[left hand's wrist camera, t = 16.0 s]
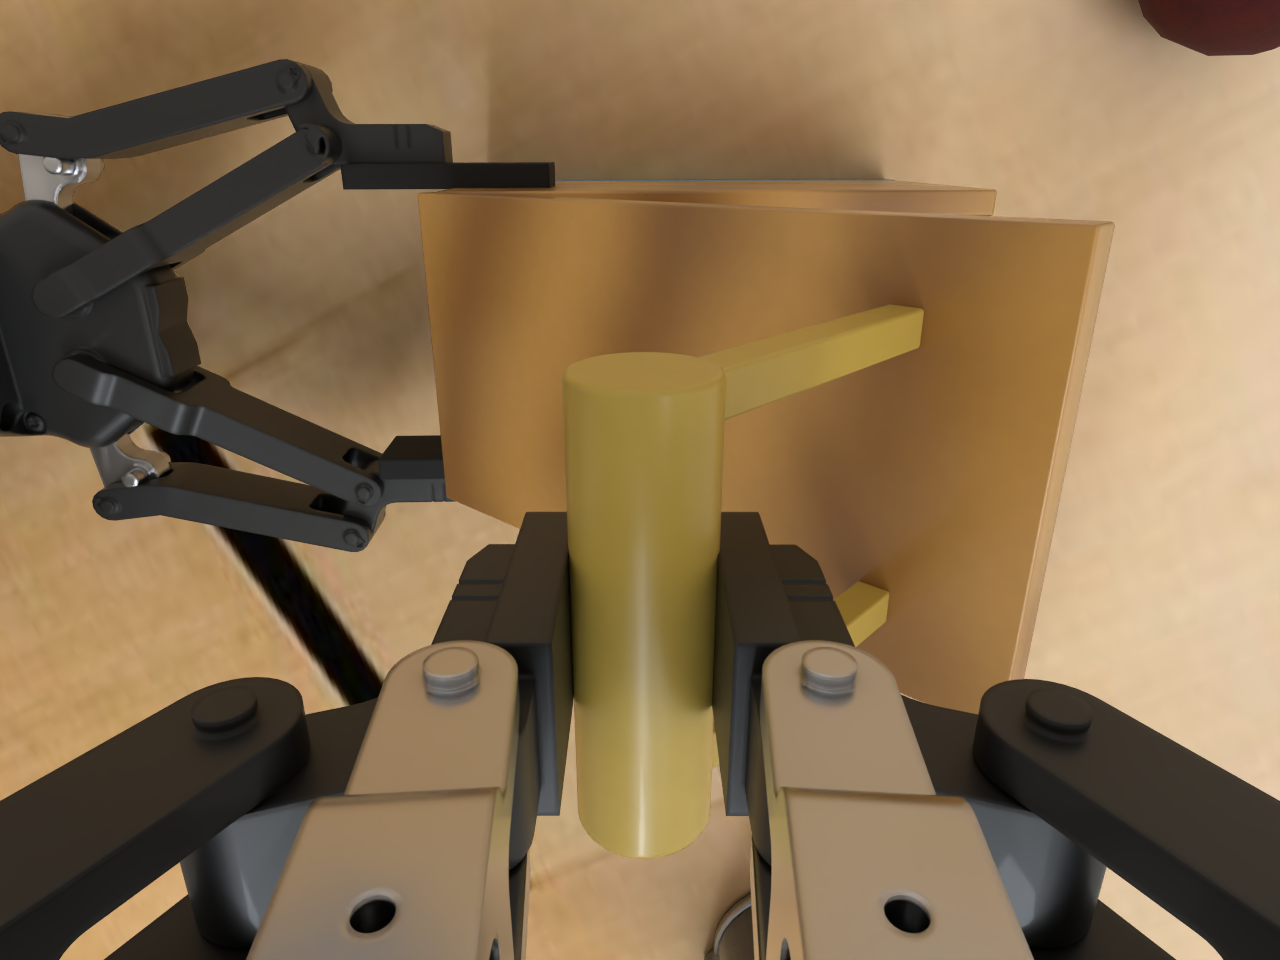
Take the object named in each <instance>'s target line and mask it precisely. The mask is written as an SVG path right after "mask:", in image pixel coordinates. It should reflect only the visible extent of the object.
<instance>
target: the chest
mask: <svg viewBox="0 0 1280 960" xmlns="http://www.w3.org/2000/svg"><path fill="white" fill-rule="evenodd" d="M438 192H454V193H477V194H500V195H522V196H545V197H567V198H590V199H612V200H635V201H657V202H680V203H702V204H725V205H747V206H770V207H792V208H815V209H837V210H860V211H882V212H905V213H928V214H950V215H973V216H991V215H993V213H994V206H995V199H996V190H992V189H981V188H970V187H959V186H948V185H937V184H926V183H915V182H904V181H895V180H887V179H839V180H555V185H554V186H552V187H551V188H452V189H447V190H442V191H438Z"/></svg>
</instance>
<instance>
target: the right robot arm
mask: <svg viewBox="0 0 1280 960" xmlns="http://www.w3.org/2000/svg"><path fill="white" fill-rule="evenodd" d="M284 116H289V118H290V120H291V122H292V124H293V126H294V128H295V130H296V133H294V134H292V135H291V136H289V137H287V138H286V139H284V140H282V141H281V142H279V143H277V144H276V145H274V146H272V147H271V148H269V149H267V150H266V151H264V152H262V153H261V154H259V155H257V156H256V157H254V158H253V159H251V160H249V161H248V162H246V163H244V164H243V165H241V166H239V167H238V168H236V169H234V170H233V171H231V172H229V173H228V174H226V175H224V176H223V177H221V178H219V179H218V180H216V181H214V182H213V183H211V184H209V185H208V186H206V187H204V188H203V189H201V190H200V191H198V192H196V193H195V194H193V195H191V196H190V197H188V198H186V199H185V200H183V201H181V202H180V203H178V204H176V205H175V206H173V207H171V208H170V209H168V210H166V211H165V212H163V213H161V214H160V215H158V216H156V217H155V218H153V219H151V220H150V221H148V222H146V223H144V224H141V225H138V226H136V227H133V228H131V229H129V230H127V231H125V232H124V233H122V232H121V231H119V230H118V229H116V228H114V227H113V226H111V225H110V224H108V223H106V222H105V221H103V220H102V219H100V218H99V217H97V216H95V215H94V214H92V213H91V212H89V211H87V210H86V209H84V208H83V207H81V206H79V205H78V204H76V203H74V202H73V195H74V192H75V190H76V189H77V188H78V187H79V186H80V185H82V184H86V183H92V182H94V181H96V180H98V178H99V177H100V176H101V173H102V171H103V170H104V167H105V164H104V161H103V159H118V158H130V157H135V156H140V155H144V154H148V153H152V152H155V151H159V150H163V149H166V148H170V147H174V146H177V145H181V144H185V143H188V142H192V141H196V140H199V139H203V138H207V137H211V136H214V135H218V134H222V133H225V132H229V131H233V130H236V129H240V128H244V127H247V126H251V125H255V124H258V123H262V122H266V121H269V120H273V119H277V118H280V117H284ZM0 145H1V146H2V147H4V148H5V149H6V150H8V151H9V152H13V153H16V154H18V156H19V162H20V169H21V175H22V182H23V189H24V195H25V201H23V202H21V203H19V204H17V205H15V206H14V207H12V208H11V209H10V210H8V211H7V212H4V213H2V214H0V436H35V435H52V436H57V437H60V438H64V439H66V440H69V441H71V442H73V443H75V444H78V445H80V446H83V447H88V448H90V450H91V453H92V455H93V458H94V461H95V463H96V466H97V468H98V471H99V474H100V476H101V479H102V481H103V484H104V487H105V488H103V489H102V490H100V491H99V492H98V493H97V494H96V495H95V496H94V498H93V501H92V502H93V508H94V509H95V511H96V512H97V513H98V514H99V515H100V516H101V517H103V518H105V519H108V520H123V519H131V518H140V517H148V516H157V515H163V516H168V517H173V518H178V519H184V520H189V521H194V522H199V523H204V524H210V525H215V526H220V527H225V528H230V529H236V530H241V531H246V532H251V533H256V534H261V535H267V536H272V537H277V538H282V539H287V540H293V541H298V542H303V543H308V544H313V545H318V546H324V547H329V548H334V549H339V550H344V551H350V552H358V551H361V550H363V549H364V548H365V547H367V545H368V544H369V542H370V540H371V539H372V537H373V536H374V534H375V532H376V531H377V529H378V528H379V526H380V524H381V523H382V521H383V520H384V517H385V508H386V505H387V504H390V503H395V502H432V501H434V502H443V501H445V502H452V501H454V500H452V499H450V498H447V495H446V485H445V474H444V464H443V453H442V443H441V436H396V437H395V438H394V440H393V441H392V442H391V444H390V445H389V446H388V448H387V449H386V450H385V452H384V453H383V454H381V453H379V452H377V451H375V450H372V449H370V448H368V447H366V446H363V445H361V444H359V443H357V442H354V441H352V440H350V439H348V438H345V437H343V436H341V435H338V434H336V433H334V432H332V431H329V430H327V429H325V428H323V427H320V426H318V425H316V424H314V423H311V422H309V421H307V420H305V419H302V418H300V417H298V416H296V415H293V414H291V413H289V412H286V411H284V410H282V409H280V408H277V407H275V406H273V405H271V404H268V403H266V402H264V401H262V400H259V399H257V398H255V397H253V396H250V395H248V394H246V393H244V392H241V391H239V390H237V389H235V388H233V387H232V386H231V385H230V383H229V381H228V380H226V379H225V378H223V377H221V376H219V375H216V374H214V373H212V372H210V371H207V370H205V369H203V368H201V367H198V366H197V365H199V364H201V361H200V356H199V351H198V346H197V342H196V340H195V338H194V336H193V334H192V332H191V330H190V328H189V325H188V323H187V307H188V297H187V292H186V287H185V282H184V278H177V277H176V275H175V273H174V272H173V270H174V269H176V268H177V267H179V266H181V265H182V264H184V263H186V262H187V261H189V260H191V259H192V258H194V257H196V256H198V255H199V254H201V253H202V252H203V251H204V250H205V249H206V248H207V247H209V246H211V245H212V244H214V243H216V242H217V241H219V240H221V239H222V238H224V237H226V236H228V235H229V234H231V233H233V232H234V231H236V230H238V229H239V228H241V227H243V226H244V225H246V224H248V223H250V222H251V221H253V220H255V219H256V218H258V217H260V216H261V215H263V214H265V213H266V212H268V211H270V210H272V209H273V208H275V207H277V206H278V205H280V204H282V203H283V202H285V201H287V200H289V199H290V198H292V197H294V196H295V195H297V194H299V193H300V192H302V191H304V190H305V189H307V188H309V187H311V186H312V185H314V184H316V183H317V182H319V181H321V180H322V179H324V178H326V177H327V176H329V175H331V174H333V173H334V172H336V171H338V170H339V169H341V173H342V181H343V189H452V188H551V187H552V186H554V185H555V165H554V162H526V163H453V159H452V146H451V134H450V132H449V131H446V130H444V129H442V128H439V127H437V126H434V125H428V124H354V123H352V122H351V121H349V120H348V119H346V117H345V116H344V115H343V114H342V113H341V111H340V109H339V107H338V105H337V103H336V101H335V99H334V97H333V94H332V84H331V81H330V79H329V78H328V76H327V75H326V74H325V73H324V72H323V71H322V70H320V69H318V68H315V67H312V66H308V65H305V64H302V63H298V62H295V61H291V60H288V59H284V60H277V61H273V62H269V63H266V64H262V65H259V66H255V67H251V68H248V69H244V70H241V71H237V72H233V73H230V74H226V75H222V76H219V77H215V78H212V79H208V80H204V81H201V82H197V83H193V84H190V85H186V86H183V87H179V88H175V89H172V90H168V91H165V92H161V93H157V94H154V95H150V96H146V97H143V98H139V99H136V100H132V101H128V102H125V103H121V104H117V105H114V106H110V107H107V108H103V109H99V110H96V111H92V112H89V113H85V114H81V115H78V116H74V117H71V116H63V115H51V114H37V113H23V112H3V113H1V114H0ZM144 422H146V423H148V424H150V425H153V426H155V427H157V428H160V429H162V430H164V431H167V432H169V433H172V434H177V435H193V436H196V437H198V438H201V439H203V440H205V441H208V442H210V443H212V444H215V445H217V446H219V447H222V448H224V449H226V450H229V451H231V452H234V453H236V454H238V455H241V456H243V457H245V458H248V459H250V460H252V461H255V462H257V463H259V464H262V465H264V466H266V467H269V468H271V469H273V470H276V471H278V472H280V473H283V474H285V475H287V476H290V477H292V478H294V479H297V480H299V481H301V482H304V483H306V484H308V485H305V484H300V483H295V482H290V481H285V480H280V479H275V478H270V477H265V476H260V475H255V474H250V473H245V472H240V471H235V470H230V469H225V468H220V467H215V466H210V465H205V464H198V463H186V462H178V463H170V462H171V461H170V457H169V455H167V454H166V453H164V452H155V451H149V450H144V449H141V448H139V447H138V446H136V445H135V444H134V443H133V442H132V440H131V438H130V436H129V434H131V433H132V432H133V431H134V430H136V429H137V428H138V427H139V426H140V425H142V424H143V423H144ZM310 485H311V486H310Z"/></svg>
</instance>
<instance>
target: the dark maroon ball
mask: <svg viewBox="0 0 1280 960" xmlns="http://www.w3.org/2000/svg"><path fill="white" fill-rule="evenodd" d="M1139 3H1140V7H1141V10H1142V13H1143V16H1144V17H1145V18H1146V19H1147V21H1148V22H1149V23H1150V24H1151V25H1152V26H1153V28H1154V29H1155V30H1156V31H1157V32H1158V33H1159V34H1160V36H1161V37H1163V38H1166V39H1168V40H1170V41H1173V42H1175V43H1178V44H1180V45H1183V46H1185V47H1187V48H1190V49H1192V50H1195V51H1197V52H1200V53H1202V54H1205V55H1208V56H1219V55H1253V54H1257V53H1261V52H1265V51H1268V50H1272V49H1275V48H1277V47H1279V46H1280V0H1139Z"/></svg>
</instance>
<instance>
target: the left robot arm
mask: <svg viewBox="0 0 1280 960" xmlns="http://www.w3.org/2000/svg"><path fill="white" fill-rule="evenodd" d="M573 699H574V685H573V658H572V631H571V604H570V577H569V550H568V528H567V512H526V513H525V516H524V519H523V522H522V525H521V528H520V531H519V534H518V537H517V541H516V544H489V545H487V546H486V547H485V548H483V549H482V550H481V551H479V552H478V553H477V554H476V555H474V556H473V557H472V558H470V559H469V560H468V561H467V562H466V565H465V567H464V569H463V572H462V574H461V576H460V579H459V584H457V586H456V588H455V590H454V593H453V595H452V600H450V602H449V604H448V607H447V609H446V611H445V614H444V616H443V619H442V621H441V623H440V626H439V628H438V630H437V633H436V635H435V637H434V640H433V642H432V644H431V645H430V646H427V647H424V648H421V649H419V650H416V651H415V652H413V653H411V654H409V655H407V656H405V657H404V658H402V659H401V660H400V661H399V662H397V663H396V664H395V665H394V666H393V667H392V668H391V670H390V671H389V672H388V674H387V676H386V678H385V681H384V683H383V686H382V689H381V692H380V695H379V697H378V698H376V699H373V700H370V701H367V702H363V703H359V704H355V705H351V706H346V707H341V708H336V709H331V710H326V711H322V712H317V713H312V714H307V715H305V711H304V705H303V700H302V696H301V694H300V692H299V691H298V690H297V689H296V688H295V687H294V686H293V685H291V684H289V683H287V682H285V681H282V680H278V679H273V678H264V677H252V678H241V679H234V680H229V681H225V682H221V683H217V684H214V685H211V686H208V687H205V688H203V689H200V690H198V691H195V692H193V693H191V694H189V695H187V696H185V697H183V698H182V699H180V700H178V701H176V702H175V703H173V704H171V705H169V706H168V707H166V708H164V709H162V710H160V711H159V712H157V713H155V714H153V715H152V716H150V717H148V718H146V719H145V720H143V721H141V722H139V723H137V724H136V725H134V726H132V727H130V728H129V729H127V730H125V731H123V732H122V733H120V734H118V735H116V736H114V737H113V738H111V739H109V740H107V741H106V742H104V743H102V744H100V745H99V746H97V747H95V748H93V749H91V750H90V751H88V752H86V753H84V754H83V755H81V756H79V757H77V758H76V759H74V760H72V761H70V762H68V763H67V764H65V765H63V766H61V767H60V768H58V769H56V770H54V771H53V772H51V773H49V774H47V775H45V776H44V777H42V778H40V779H38V780H37V781H35V782H33V783H31V784H30V785H28V786H26V787H24V788H22V789H21V790H19V791H17V792H15V793H14V794H12V795H10V796H8V797H7V798H5V799H3V800H1V801H0V960H59V959H60V958H61V956H62V955H63V953H64V952H65V951H66V950H67V949H68V947H69V946H70V945H71V944H72V943H73V942H74V941H75V940H76V939H77V938H78V937H79V936H80V935H82V934H83V933H84V932H85V931H87V930H88V929H89V928H91V927H92V926H93V925H95V924H96V923H97V922H99V921H100V920H101V919H103V918H104V917H106V916H107V915H108V914H110V913H111V912H112V911H114V910H115V909H116V908H118V907H119V906H121V905H122V904H123V903H125V902H126V901H127V900H129V899H130V898H131V897H133V896H134V895H135V894H137V893H138V892H140V891H141V890H142V889H144V888H145V887H146V886H148V885H149V884H150V883H152V882H153V881H154V880H156V879H157V878H159V877H160V876H161V875H163V874H164V873H165V872H167V871H168V870H169V869H171V868H172V867H174V866H175V865H176V864H178V863H179V862H180V865H181V868H182V872H183V876H184V880H185V884H186V887H187V891H188V895H187V896H185V897H184V898H183V899H181V900H180V901H179V902H178V903H176V904H175V905H174V906H172V907H171V908H170V909H169V910H167V911H166V912H165V913H163V914H162V915H161V916H160V917H158V918H157V919H156V920H154V921H153V922H152V923H151V924H149V925H148V926H147V927H145V928H144V929H143V930H142V931H140V932H139V933H138V934H136V935H135V936H134V937H132V938H131V939H130V940H129V941H127V942H126V943H125V944H123V945H122V946H121V947H120V948H118V949H117V950H116V951H114V952H113V953H112V954H111V955H109V956H108V957H107V958H105V959H104V960H526V942H527V924H528V906H529V888H530V855H529V848H530V846H531V844H532V840H533V837H534V831H535V824H536V818H537V816H559V814H560V806H561V798H562V790H563V781H564V773H565V765H566V757H567V748H568V740H569V732H570V724H571V715H572V707H573ZM712 710H713V717H714V725H715V733H716V741H717V748H718V756H719V764H720V772H721V779H722V787H723V795H724V802H725V810H726V816H749V818H750V824H751V831H752V841H751V857H750V886H751V894H750V895H748V896H746V897H745V898H743V899H742V900H740V901H739V902H738V903H736V904H735V905H734V906H733V907H732V908H731V909H730V910H729V911H728V912H727V913H726V914H725V916H724V917H723V918H722V920H721V922H720V923H719V925H718V927H717V930H716V933H715V937H714V948H713V950H712V951H711V952H710V953H708V954H707V955H706V956H705V957H704V960H1176V959H1175V958H1173V957H1172V956H1171V955H1169V954H1168V953H1167V952H1166V951H1164V950H1163V949H1162V948H1160V947H1159V946H1158V945H1157V944H1155V943H1154V942H1153V941H1151V940H1150V939H1149V938H1148V937H1146V936H1145V935H1144V934H1142V933H1141V932H1140V931H1139V930H1137V929H1136V928H1135V927H1133V926H1132V925H1131V924H1129V923H1128V922H1127V921H1126V920H1124V919H1123V918H1122V917H1120V916H1119V915H1118V914H1117V913H1115V912H1114V911H1113V910H1111V909H1110V908H1109V907H1108V906H1106V905H1105V904H1104V903H1102V902H1101V901H1100V900H1099V899H1098V897H1099V893H1100V889H1101V885H1102V882H1103V878H1104V874H1105V871H1106V867H1108V868H1109V869H1111V870H1112V871H1113V872H1115V873H1116V874H1117V875H1119V876H1120V877H1121V878H1123V879H1124V880H1126V881H1127V882H1128V883H1130V884H1131V885H1132V886H1134V887H1135V888H1136V889H1138V890H1139V891H1140V892H1142V893H1143V894H1145V895H1146V896H1147V897H1149V898H1150V899H1151V900H1153V901H1154V902H1155V903H1157V904H1158V905H1160V906H1161V907H1162V908H1164V909H1165V910H1166V911H1168V912H1169V913H1170V914H1172V915H1173V916H1174V917H1176V918H1177V919H1179V920H1180V921H1181V922H1183V923H1184V924H1185V925H1187V926H1188V927H1189V928H1191V929H1192V930H1194V931H1195V932H1196V933H1198V934H1199V935H1200V936H1201V937H1203V938H1204V939H1205V940H1206V941H1207V942H1208V943H1209V944H1210V945H1211V946H1212V947H1213V948H1214V949H1215V950H1216V951H1217V952H1218V953H1219V954H1220V956H1221V957H1222V958H1223V960H1280V801H1279V800H1277V799H1275V798H1273V797H1272V796H1270V795H1268V794H1266V793H1265V792H1263V791H1261V790H1259V789H1258V788H1256V787H1254V786H1252V785H1250V784H1249V783H1247V782H1245V781H1243V780H1242V779H1240V778H1238V777H1236V776H1235V775H1233V774H1231V773H1229V772H1227V771H1226V770H1224V769H1222V768H1220V767H1219V766H1217V765H1215V764H1213V763H1212V762H1210V761H1208V760H1206V759H1204V758H1203V757H1201V756H1199V755H1197V754H1196V753H1194V752H1192V751H1190V750H1189V749H1187V748H1185V747H1183V746H1181V745H1180V744H1178V743H1176V742H1174V741H1173V740H1171V739H1169V738H1167V737H1166V736H1164V735H1162V734H1160V733H1158V732H1157V731H1155V730H1153V729H1151V728H1150V727H1148V726H1146V725H1144V724H1143V723H1141V722H1139V721H1137V720H1136V719H1134V718H1132V717H1130V716H1128V715H1127V714H1125V713H1123V712H1121V711H1120V710H1118V709H1116V708H1114V707H1113V706H1111V705H1109V704H1107V703H1105V702H1104V701H1102V700H1100V699H1098V698H1096V697H1094V696H1092V695H1090V694H1088V693H1086V692H1083V691H1081V690H1078V689H1076V688H1073V687H1070V686H1066V685H1063V684H1059V683H1055V682H1050V681H1043V680H1034V679H1016V680H1010V681H1004V682H1001V683H998V684H996V685H994V686H992V687H990V688H989V689H988V690H987V691H986V692H985V693H984V694H983V696H982V698H981V702H980V708H979V713H978V714H973V713H968V712H964V711H959V710H954V709H949V708H944V707H939V706H934V705H930V704H926V703H922V702H919V701H916V700H913V699H910V698H908V697H905V696H903V695H901V694H900V692H899V689H898V686H897V683H896V680H895V678H894V676H893V674H892V672H891V671H890V670H889V668H888V667H887V666H886V665H885V664H884V663H883V662H882V661H880V660H879V659H878V658H876V657H875V656H873V655H872V654H870V653H868V652H866V651H864V650H861V649H859V648H856V647H855V645H854V643H853V641H852V638H851V636H850V634H849V631H848V629H847V627H846V625H845V622H844V620H843V618H842V615H841V613H840V611H839V609H838V606H837V604H836V602H835V601H833V595H832V593H831V590H830V588H829V586H828V584H826V579H825V577H824V574H823V572H822V570H821V568H820V565H819V563H818V561H817V560H816V559H814V558H813V557H812V556H810V555H809V554H808V553H806V552H805V551H804V550H802V549H801V548H800V547H798V546H797V545H785V544H769V541H768V538H767V535H766V532H765V529H764V526H763V523H762V520H761V517H760V514H759V512H721V533H720V551H719V554H718V560H717V587H716V613H715V640H714V666H713V692H712Z"/></svg>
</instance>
